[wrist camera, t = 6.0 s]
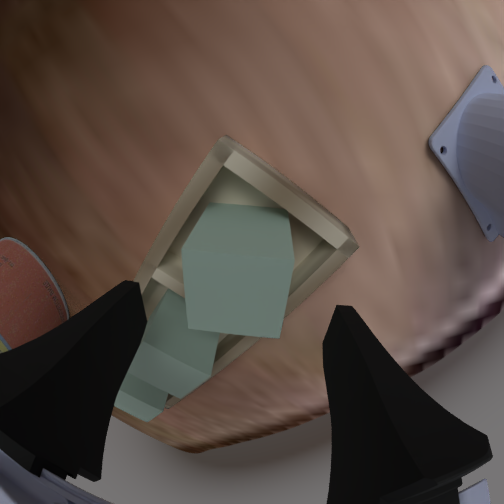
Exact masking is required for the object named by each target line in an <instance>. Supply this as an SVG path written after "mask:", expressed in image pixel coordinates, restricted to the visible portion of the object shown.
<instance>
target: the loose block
mask: <svg viewBox="0 0 504 504" xmlns="http://www.w3.org/2000/svg"><path fill="white" fill-rule="evenodd" d="M181 253H182V267H183V280H184V291H185V302H186V312H187V321H188V328H189V329H196V330H203V331H211V332H218V333H227V334H235V335H245V336H255V337H266V338H280V333H281V328H282V324H283V319H284V314H285V309H286V304H287V299H288V294H289V289H290V283H291V278H292V273H293V267H294V262H295V258H294V251H293V244H292V236H291V229H290V223H289V216H288V211H287V210H285V209H280V208H270V207H260V206H249V205H238V204H226V203H213V202H210V203H209V204H208V206H207V207H206V209H205V211H204V212H203V214H202V216H201V217H200V219H199V220H198V222H197V224H196V225H195V227H194V229H193V230H192V232H191V234H190V235H189V237H188V239H187V240H186V242H185V244H184V245H183V247H182V249H181Z"/></svg>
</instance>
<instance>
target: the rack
mask: <svg viewBox="0 0 504 504" xmlns="http://www.w3.org/2000/svg"><path fill="white" fill-rule="evenodd" d="M210 202H213V203H226V204H238V205H249V206H260V207H270V208H280V209H285V210H287V211H288V216H289V223H290V229H291V236H292V244H293V251H294V258H295V262H294V267H293V273H292V278H291V283H290V289H289V294H288V299H287V304H286V309H285V314H284V318H285V317H286V316H287V315H288V314H289V313H291V312H292V311H293V310H294V309H295V308H296V307H297V306H298V305H300V304H301V303H302V302H303V301H304V300H305V299H306V298H307V297H308V296H309V295H310V294H312V293H313V292H314V291H315V290H316V289H317V288H318V287H319V286H320V285H321V284H322V283H323V282H324V281H325V280H326V279H328V278H329V277H330V276H331V275H332V274H333V273H334V272H335V271H336V270H337V269H338V268H339V267H340V266H341V265H342V264H343V263H344V262H345V261H346V260H347V259H348V258H349V257H350V256H351V255H352V254H353V253H354V252H355V251H356V250H357V249H358V248H359V245H358V243H357V242H356V240H355V238H354V236H353V235H352V233H351V231H350V230H349V228H348V227H347V226H346V225H345V224H343V223H342V222H341V221H340V220H339V219H338V218H336V217H335V216H334V215H333V214H332V213H330V212H329V211H328V210H327V209H326V208H324V207H323V206H322V205H321V204H319V203H318V202H317V201H316V200H314V199H313V198H312V197H311V196H309V195H308V194H307V193H306V192H304V191H303V190H302V189H301V188H299V187H298V186H297V185H295V184H294V183H293V182H292V181H290V180H289V179H288V178H286V177H285V176H284V175H282V174H281V173H280V172H278V171H277V170H276V169H274V168H273V167H272V166H270V165H269V164H267V163H266V162H265V161H263V160H262V159H261V158H259V157H258V156H256V155H255V154H254V153H252V152H251V151H249V150H248V149H246V148H245V147H244V146H242V145H241V144H239V143H238V142H236V141H235V140H233V139H232V138H230V137H229V136H227V135H226V136H224V137H222V138H220V139H218V141H217V142H216V143H215V145H214V146H213V148H212V149H211V151H210V152H209V154H208V155H207V157H206V158H205V160H204V161H203V162H202V164H201V166H200V167H199V169H198V170H197V172H196V173H195V175H194V176H193V178H192V179H191V181H190V182H189V184H188V186H187V187H186V189H185V190H184V192H183V194H182V195H181V197H180V198H179V200H178V202H177V203H176V205H175V207H174V208H173V210H172V212H171V213H170V215H169V217H168V218H167V220H166V222H165V224H164V225H163V227H162V229H161V231H160V232H159V234H158V236H157V238H156V239H155V241H154V243H153V245H152V247H151V248H150V250H149V252H148V254H147V256H146V258H145V260H144V262H143V263H142V265H141V267H140V269H139V271H138V273H137V275H136V277H135V279H134V281H133V282H139V284H140V289H141V294H142V299H143V304H144V308H145V313H146V317H147V321H148V319H149V317H150V315H151V314H152V312H153V311H154V309H155V308H156V306H157V305H158V303H159V301H160V300H161V298H162V297H163V295H164V294H165V292H166V291H167V289H168V288H169V289H171V290H172V291H174V292H175V293H177V294H179V295H180V296H182V297H184V298H185V291H184V280H183V267H182V253H181V249H182V247H183V245H184V244H185V242H186V240H187V239H188V237H189V235H190V234H191V232H192V230H193V229H194V227H195V225H196V224H197V222H198V220H199V219H200V217H201V216H202V214H203V212H204V211H205V209H206V207H207V206H208V204H209V203H210ZM260 338H262V337H255V336H245V335H235V334H227V333H220V335H219V340H218V344H217V349H216V354H215V359H214V363H213V368H212V373H211V377H209V378H208V379H207V380H205V381H204V382H203V383H201V384H200V385H199V386H197V387H196V388H195V389H193V390H192V391H191V392H189V393H188V394H187V395H185V396H184V397H183V398H185V397H186V396H188V395H189V394H190V393H192V392H193V391H194V390H196V389H197V388H198V387H200V386H201V385H202V384H204V383H205V382H206V381H208V380H209V379H210V378H212V377H213V376H214V375H216V374H217V373H218V372H220V371H221V370H222V369H223V368H225V367H226V366H227V365H228V364H230V363H231V362H232V361H234V360H235V359H236V358H237V357H239V356H240V355H241V354H242V353H243V352H245V351H246V350H247V349H248V348H250V347H251V346H252V345H253V344H254V343H256V342H257V341H258V340H259V339H260ZM183 398H181V399H180V398H178V397H175V396H173V395H171V394H169V393H168V396H167V400H166V403H165V406H164V407H165V408H167V409H169V408H171V407H172V406H174V405H175V404H176V403H178V402H179V401H181V400H182V399H183Z"/></svg>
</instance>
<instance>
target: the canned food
mask: <svg viewBox="0 0 504 504" xmlns="http://www.w3.org/2000/svg"><path fill="white" fill-rule="evenodd" d="M68 319H69V311H68V307H67V303H66V301H65V298H64V296H63V293H62V291H61V289H60V287H59V285H58V284H57V282H56V280H55V279H54V277H53V276H52V274H51V272H50V271H49V270H48V268H47V267H46V266H45V264H44V263H43V262H42V261H41V259H40V258H39V257H38V256H37V255H36V254H35V253H34V252H33V251H32V250H31V249H30V248H29V247H27V246H26V245H25V244H23V243H22V242H20V241H18V240H17V239H14V238H10V237H6V238H3V239H1V240H0V353H3V352H6V351H8V350H11V349H14V348H16V347H18V346H21V345H23V344H25V343H27V342H29V341H31V340H34V339H36V338H38V337H40V336H41V335H43V334H45V333H47V332H49V331H50V330H52V329H54V328H56V327H57V326H59V325H60V324H62V323H64V322H65V321H67V320H68Z"/></svg>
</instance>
